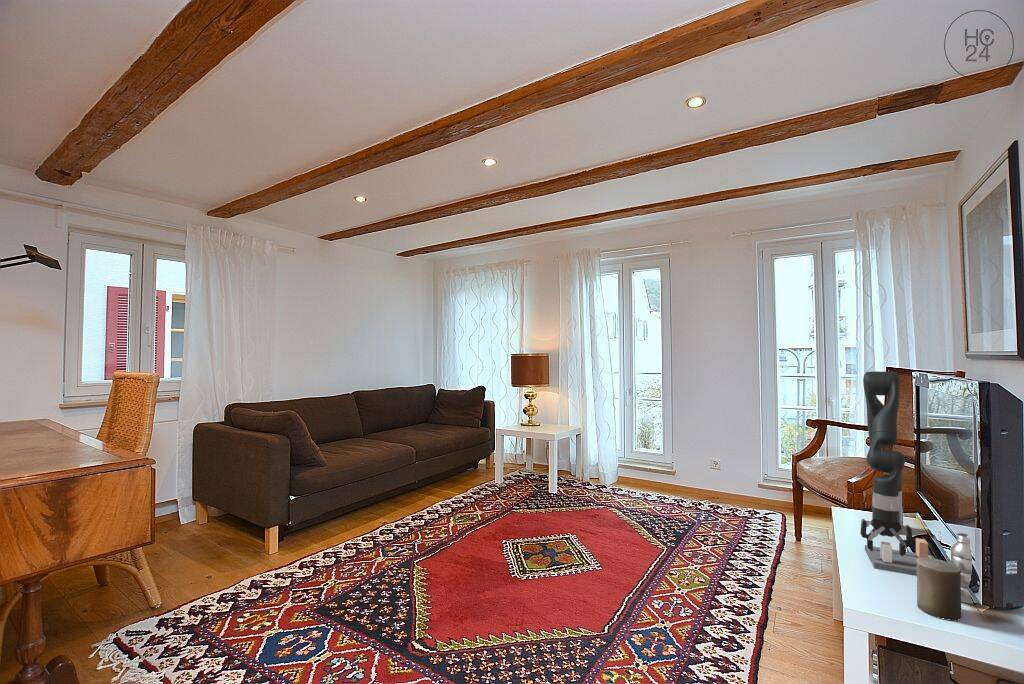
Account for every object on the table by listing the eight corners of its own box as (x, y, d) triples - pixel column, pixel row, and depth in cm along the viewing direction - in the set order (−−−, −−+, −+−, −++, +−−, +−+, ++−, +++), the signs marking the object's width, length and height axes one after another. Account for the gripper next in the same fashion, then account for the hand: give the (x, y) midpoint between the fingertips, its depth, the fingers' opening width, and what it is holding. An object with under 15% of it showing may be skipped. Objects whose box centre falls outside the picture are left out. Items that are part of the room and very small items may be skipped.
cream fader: (883, 561, 163) (883, 545, 163) (880, 556, 167) (880, 541, 167) (891, 562, 162) (891, 546, 162) (889, 558, 166) (888, 542, 166)
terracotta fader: (919, 558, 166) (919, 542, 166) (915, 553, 169) (915, 538, 169) (928, 559, 165) (928, 543, 165) (924, 554, 168) (924, 539, 168)
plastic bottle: (987, 608, 138) (986, 540, 139) (960, 605, 140) (960, 539, 140) (970, 596, 145) (969, 532, 145) (945, 594, 146) (944, 530, 146)
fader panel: (874, 568, 163) (874, 562, 163) (864, 550, 177) (864, 544, 177) (949, 581, 154) (949, 575, 154) (933, 561, 168) (933, 555, 168)
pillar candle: (965, 625, 130) (965, 571, 130) (919, 613, 136) (919, 561, 136) (956, 609, 138) (956, 558, 138) (913, 598, 144) (913, 550, 144)
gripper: (908, 506, 165) (908, 552, 164) (858, 500, 171) (858, 544, 171) (914, 513, 158) (915, 561, 158) (863, 506, 164) (863, 552, 164)
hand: (885, 552), depth 164 cm, fingers open, 8 cm apart
